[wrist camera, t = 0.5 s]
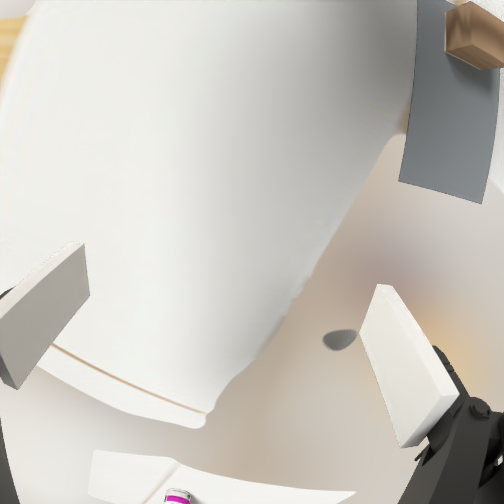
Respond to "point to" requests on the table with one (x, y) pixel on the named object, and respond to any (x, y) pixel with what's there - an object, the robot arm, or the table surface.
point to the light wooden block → (474, 36)
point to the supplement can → (177, 497)
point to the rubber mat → (448, 114)
